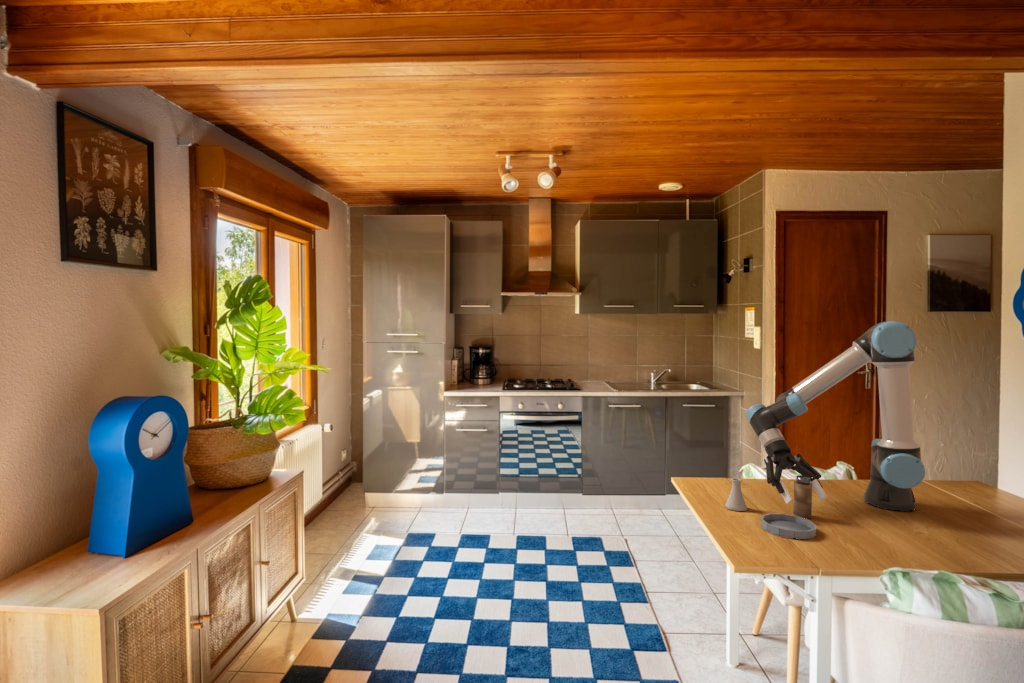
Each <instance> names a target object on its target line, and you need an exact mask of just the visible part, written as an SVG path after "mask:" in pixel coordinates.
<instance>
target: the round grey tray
mask: <svg viewBox="0 0 1024 683" xmlns="http://www.w3.org/2000/svg"><path fill="white" fill-rule="evenodd" d="M761 526H762V527H761ZM760 527H761V529H762V530H764V531H765V530H766V531H765V532H767V531H768V532H767V533H769V532H770V533H769V534H771V533H772V534H771V535H774V534H775V535H774V536H777V535H778V536H777V537H780V536H782V537H781V538H784V537H787V538H786V539H790V538H797V539H796V540H800V539H804V540H811V539H813V538H815V537H816V536H817V524H815V522H813V521H811V519H804V518H801V517H798V516H794V515H793V514H786V513H779V512H778V513H773V512H772V513H770V512H769V513H766V514H762V515H761V518H760ZM810 538H811V539H810Z"/></svg>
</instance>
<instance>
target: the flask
mask: <svg viewBox="0 0 1024 683" xmlns="http://www.w3.org/2000/svg"><path fill="white" fill-rule="evenodd" d="M731 483H732V485H731V489H730V492H729V496H727V497H728V498H727V500H726V503H725V505H724V508H726V509H727V510H728V511H729V510H730V511H734V512H746V511H747V510H748V506H747V504H746V501H745V497H744V495H743V492H742V488H741V483H742V479H741V478H736V477H735V478H734V477H733V478H731Z"/></svg>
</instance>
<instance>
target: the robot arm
mask: <svg viewBox="0 0 1024 683" xmlns="http://www.w3.org/2000/svg"><path fill="white" fill-rule="evenodd" d="M917 341H918V339H917V335H916V333H915V331H914V329H913V328H911V327H910V325H908V324H906V323H905V322H901V321H898V320H889V321H888V320H887V321H881V322H878V323H876V324H873V325H872V326H871V327H870V328H869V329H868V330H867V331H865V332H864V333H863V334H862V335H860V337H858V338H857V339H855V340H853V341H852V346H850V347H849V348H847V349H845V351H843V352H842V353H840V354H838V355H837V356H835V357H834V358H832V359H831V360H830V361H828V362H827V363H825V364H824V365H823V366H821V367H820V368H818V369H816V371H814V372H813V373H811V374H810V375H808V376H807V377H805V378H804V379H802V380H801V381H800V382H798V383H797V384H795V385H793V386H792V387H791V388H789V389H788V390H787V391H785V392H782V393H781V394H779V395H778V396H777V397H776V399H775V401H774V403H771V404H770V405H767V406H765V405H764V404H763V403H757V404H753V405H751V406H750V407H749V408H747V409H746V411H745V415H746V418H747V420H748V422H749V425H750V426H751V428H752V430H753V431H754V432H755V435H756V436H757V438H758V440H759V442H760V444H761V445H762V447H763V448H764V451H765V453H766V454H767V455H766V457H765V458H764V459H763V461H764V464H765V470H766V483H767V484H770V485H771V486H772V487H775V489H776V490H777V493H779V494H780V495H781V498H783V500H784V503H785V504H786V505H788V504H791V502H793V501H794V498H793V497H792V495H791V494H790V492H789V490H788V488H787V486H786V484H785V483H784V481H781V477H782V473H783V470H792V471H795V472H796V473H799V474H800V475H802V476H808V477H810V483H812V490H813V491H814V492H815V493H816V495H817V497H818V499H819V500H820V502H822V501H825V500H826V499H827V498H828V495H827V493H826V492H825V490H824V487H823V485H822V483H821V482H820V478H823V477H822V474H821V473H820V472H819V471H818V470H816V469H815V468H814V467H813V466H812V465H811V464H810V463H809V462H807V461H806V460H805V459H804V458H803V456H802V455H801V453H798V454H796V455H793V454H792V453H791V447H790V445H789V444H788V442H787V441H786V440H785V437H784V435H783V434H782V432H781V430H780V429H779V428H778V426H780V425H782V424H784V423H786V422H788V421H790V420H793V419H794V418H797V417H800V416H802V415H803V414H804V413H807V412H808V410H809V408H808V406H807V404H808V403H810V402H811V401H812V400H814V399H816V398H817V397H818V396H820V395H822V394H823V393H825V392H826V391H828V390H829V389H831V388H832V387H834V386H835V385H837V384H838V383H840V382H841V381H843V380H845V379H846V378H847V377H848V376H850V375H852V374H853V373H855V372H856V371H858V370H860V368H862V367H864V366H865V365H866V364H867V365H868V363H869V364H873V365H874V366H875V367H877V381H878V396H879V409H880V410H879V412H880V414H879V415H880V429H881V430H880V432H881V438H874V439H873V440H872V441H871V445H870V449H871V452H870V455H871V456H870V457H871V458H870V480H869V482H868V484H867V487H866V490H865V492H864V493H863V501H864V500H865V501H866V502H868V503H870V504H872V505H875V506H879V507H882V508H881V509H883V508H886V509H885V510H888V509H892V510H891V511H894V510H900V511H899V512H911V511H910V510H914V509H916V510H917V502H916V499H915V498H916V497H915V495H914V492H913V490H912V488H915V487H917V486H918V485H920V484H921V483H922V482H923V480H924V478H925V476H926V467H925V464H924V463H923V462H922V456H921V445H920V444H919V443H918V442H917V441H916V440H915V436H914V420H913V406H912V393H911V392H912V389H911V387H912V386H911V376H910V366H912V364H914V363H915V362H916V360H915V349H916V346H917V343H918V342H917ZM774 464H775V467H774ZM774 468H775V469H774ZM865 501H864V502H865ZM866 502H865V503H866ZM868 503H867V504H868ZM870 504H869V505H870ZM872 505H871V506H872ZM875 506H874V507H875ZM879 507H878V508H879ZM908 510H909V511H908ZM914 511H915V510H914Z"/></svg>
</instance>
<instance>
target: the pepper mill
mask: <svg viewBox="0 0 1024 683" xmlns="http://www.w3.org/2000/svg"><path fill="white" fill-rule="evenodd" d="M795 478H796V480H795V481H794V483H793V486H794V487H793V514H794V515H795V516H798V517H801V518H805V519H806V518H807V519H808V520H811V519H812V507H813V502H812V501H813V487H812V483H811V481H810V477H808V476H802V475H801V474H800V475H796V476H795ZM793 514H792V515H793ZM810 518H811V519H810Z"/></svg>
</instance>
